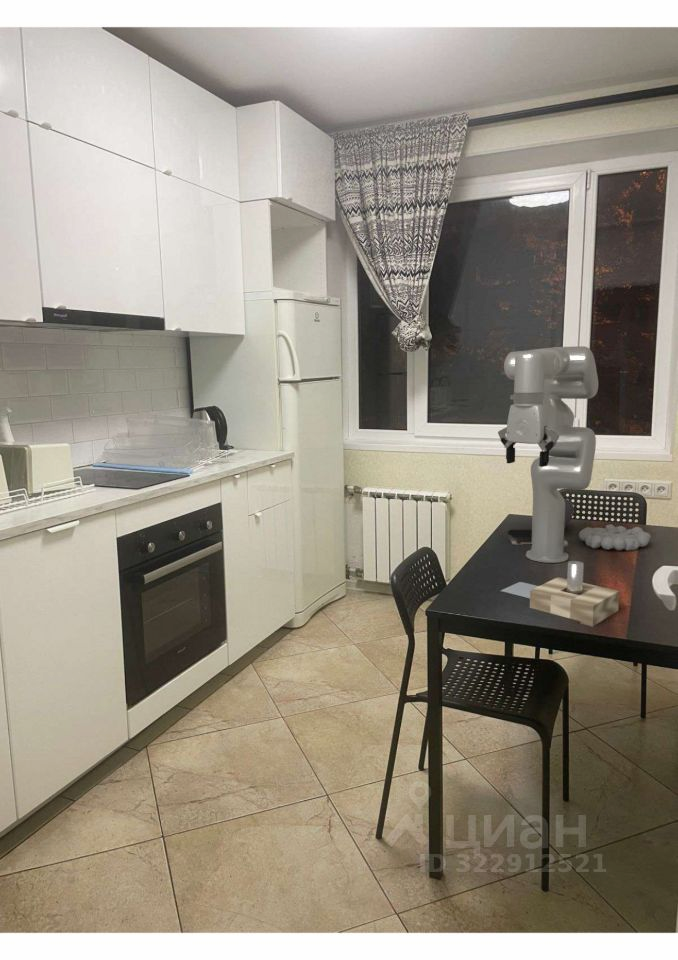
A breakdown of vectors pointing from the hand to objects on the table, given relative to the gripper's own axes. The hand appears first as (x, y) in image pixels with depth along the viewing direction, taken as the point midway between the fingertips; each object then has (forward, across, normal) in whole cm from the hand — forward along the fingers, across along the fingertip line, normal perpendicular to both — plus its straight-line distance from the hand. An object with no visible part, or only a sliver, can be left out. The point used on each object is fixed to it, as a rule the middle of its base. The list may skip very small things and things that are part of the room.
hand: (526, 464), depth 179 cm
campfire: (+34, +1, +56) cm, 66 cm away
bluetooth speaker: (+34, -23, +64) cm, 76 cm away
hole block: (+33, +19, -9) cm, 39 cm away
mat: (+33, +4, -5) cm, 34 cm away
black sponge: (+34, -21, +42) cm, 58 cm away
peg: (+33, +19, -9) cm, 39 cm away
